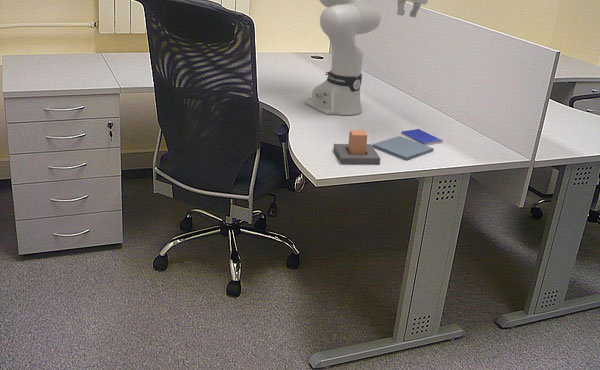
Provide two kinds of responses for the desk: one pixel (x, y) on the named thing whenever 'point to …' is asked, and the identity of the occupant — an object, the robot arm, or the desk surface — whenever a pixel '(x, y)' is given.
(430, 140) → the hard drive
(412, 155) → the slate mat
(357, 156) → the pocket holder
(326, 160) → the desk surface
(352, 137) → the terracotta block
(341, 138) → the desk surface
